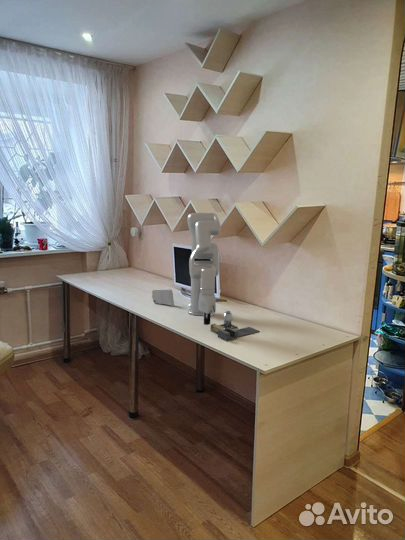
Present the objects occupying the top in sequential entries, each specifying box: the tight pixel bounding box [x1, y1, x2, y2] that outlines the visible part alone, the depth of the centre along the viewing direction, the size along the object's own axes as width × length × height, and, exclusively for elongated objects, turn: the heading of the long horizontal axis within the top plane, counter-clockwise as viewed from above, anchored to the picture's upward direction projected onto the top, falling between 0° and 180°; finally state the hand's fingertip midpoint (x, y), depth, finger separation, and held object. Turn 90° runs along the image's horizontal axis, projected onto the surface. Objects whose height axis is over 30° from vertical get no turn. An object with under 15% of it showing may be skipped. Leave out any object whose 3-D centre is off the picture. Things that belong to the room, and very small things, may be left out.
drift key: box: [209, 323, 226, 333], centre depth 212 cm, size 10×3×3 cm, turn 37°
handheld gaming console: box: [151, 288, 175, 307], centre depth 264 cm, size 11×3×15 cm
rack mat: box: [235, 326, 260, 338], centre depth 215 cm, size 8×15×1 cm, turn 127°
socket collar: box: [217, 323, 238, 330], centre depth 222 cm, size 8×8×1 cm
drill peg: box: [223, 310, 233, 328], centre depth 222 cm, size 4×4×9 cm
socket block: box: [217, 327, 238, 342], centre depth 206 cm, size 7×7×4 cm
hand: (206, 324), depth 220 cm, fingers closed
